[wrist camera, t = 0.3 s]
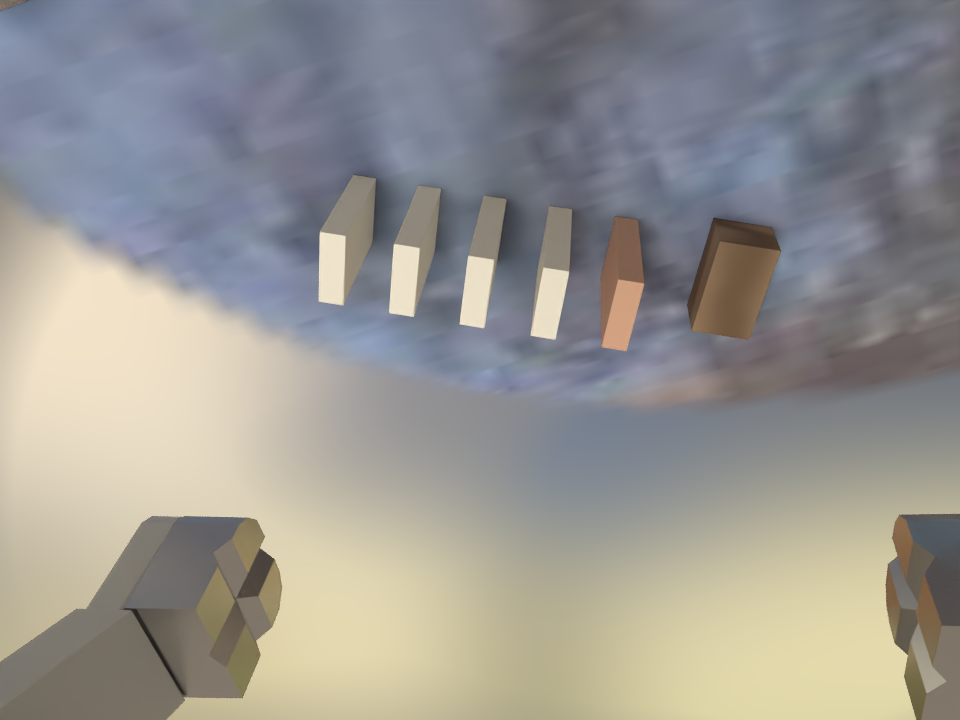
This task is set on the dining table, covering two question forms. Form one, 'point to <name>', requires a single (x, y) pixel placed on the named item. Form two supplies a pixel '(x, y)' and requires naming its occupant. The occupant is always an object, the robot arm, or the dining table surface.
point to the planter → (9, 3)
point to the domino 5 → (621, 283)
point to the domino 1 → (346, 239)
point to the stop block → (732, 278)
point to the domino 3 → (482, 262)
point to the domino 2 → (414, 251)
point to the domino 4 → (552, 273)
